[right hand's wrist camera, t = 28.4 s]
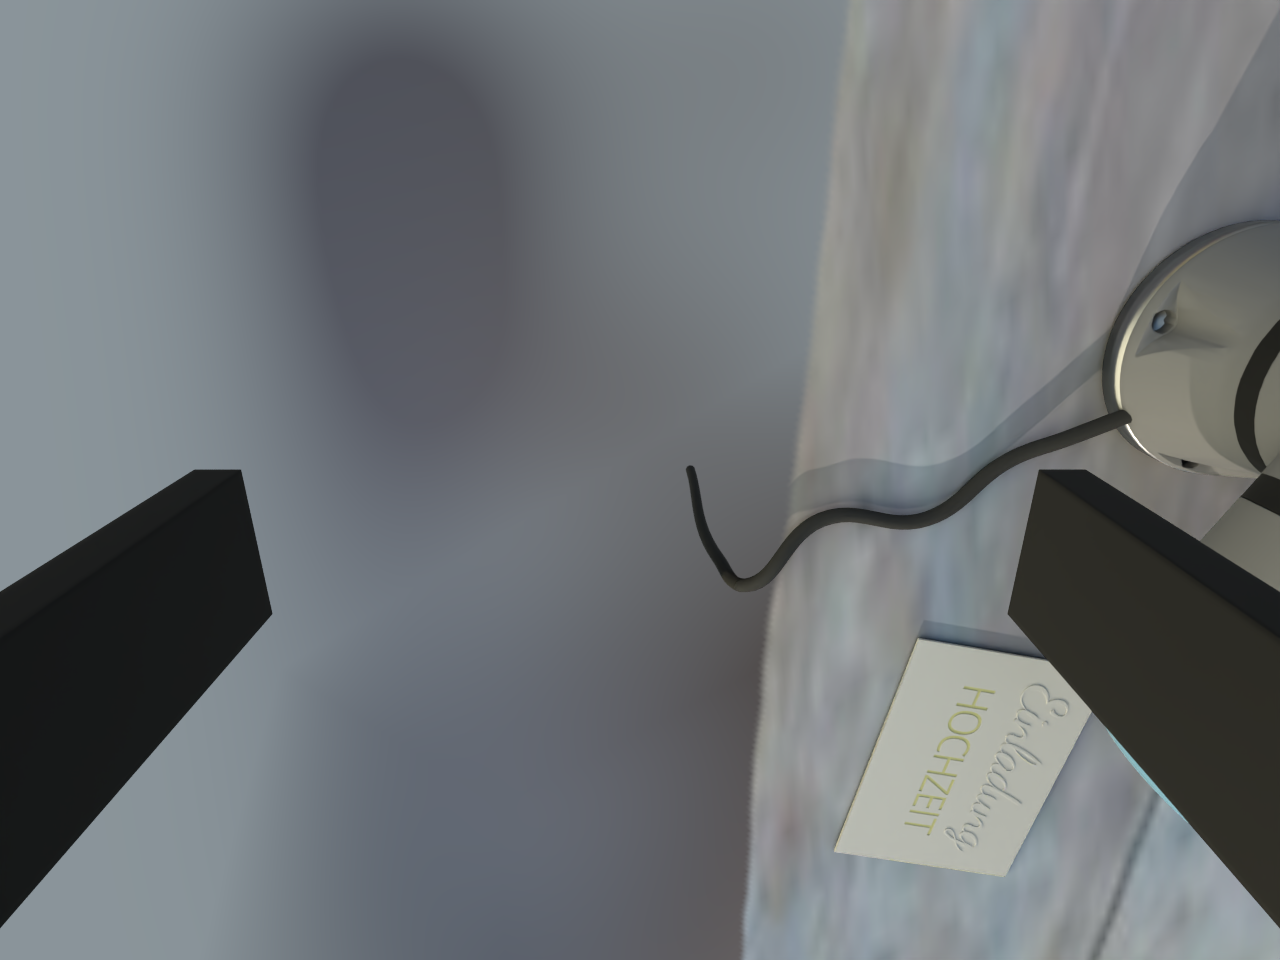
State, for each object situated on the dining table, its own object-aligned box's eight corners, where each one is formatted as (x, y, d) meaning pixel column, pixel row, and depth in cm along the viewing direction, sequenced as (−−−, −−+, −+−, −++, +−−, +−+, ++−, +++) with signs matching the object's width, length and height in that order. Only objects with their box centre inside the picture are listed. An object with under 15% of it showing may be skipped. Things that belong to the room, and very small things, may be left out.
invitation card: (919, 639, 53) (1112, 672, 54) (918, 637, 53) (1110, 670, 54) (834, 852, 61) (1005, 877, 62) (833, 849, 61) (1003, 874, 62)
